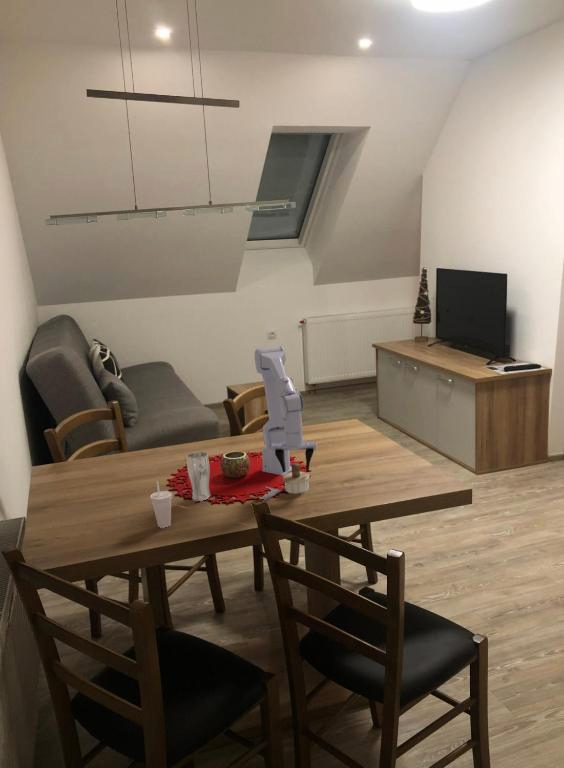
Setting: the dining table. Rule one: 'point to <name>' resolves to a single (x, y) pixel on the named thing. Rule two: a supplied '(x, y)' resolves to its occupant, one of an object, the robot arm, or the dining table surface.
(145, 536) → the dining table surface
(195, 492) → the beer glass
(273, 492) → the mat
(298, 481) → the lid
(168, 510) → the smoothie
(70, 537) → the dining table surface
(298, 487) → the bowl
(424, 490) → the dining table surface
